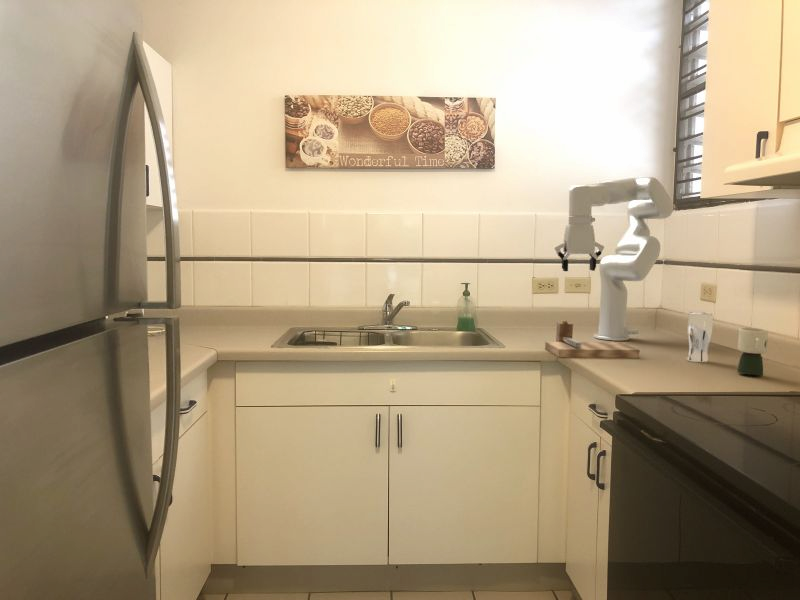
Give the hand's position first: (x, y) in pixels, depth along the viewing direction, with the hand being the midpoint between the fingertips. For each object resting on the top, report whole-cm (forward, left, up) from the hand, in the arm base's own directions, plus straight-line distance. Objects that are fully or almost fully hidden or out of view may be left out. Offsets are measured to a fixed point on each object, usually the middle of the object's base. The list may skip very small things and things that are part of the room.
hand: (578, 270), depth 218 cm
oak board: (+1, +17, -26) cm, 31 cm away
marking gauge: (+7, +15, -26) cm, 30 cm away
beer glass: (-29, +28, -26) cm, 48 cm away
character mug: (-33, +48, -26) cm, 64 cm away
